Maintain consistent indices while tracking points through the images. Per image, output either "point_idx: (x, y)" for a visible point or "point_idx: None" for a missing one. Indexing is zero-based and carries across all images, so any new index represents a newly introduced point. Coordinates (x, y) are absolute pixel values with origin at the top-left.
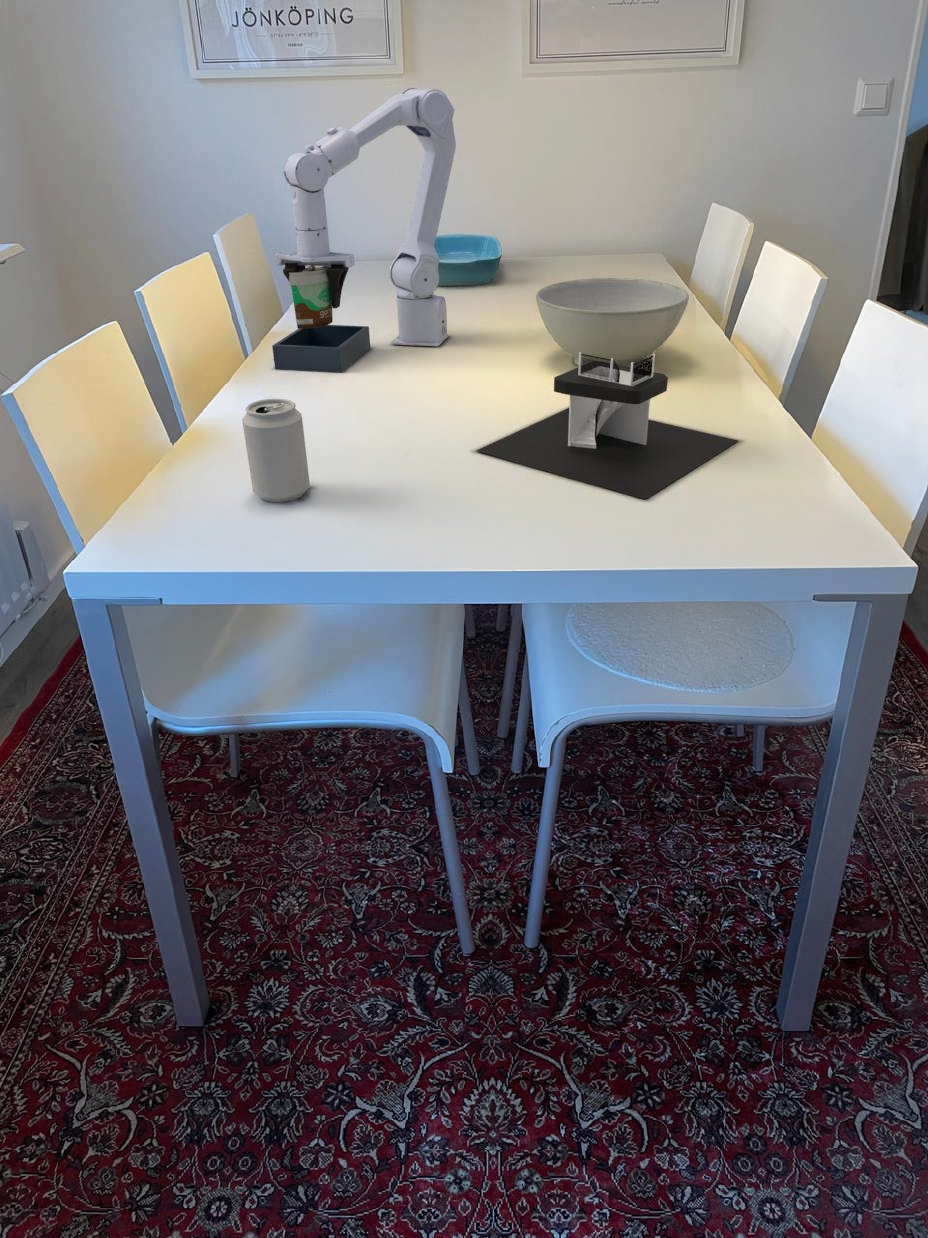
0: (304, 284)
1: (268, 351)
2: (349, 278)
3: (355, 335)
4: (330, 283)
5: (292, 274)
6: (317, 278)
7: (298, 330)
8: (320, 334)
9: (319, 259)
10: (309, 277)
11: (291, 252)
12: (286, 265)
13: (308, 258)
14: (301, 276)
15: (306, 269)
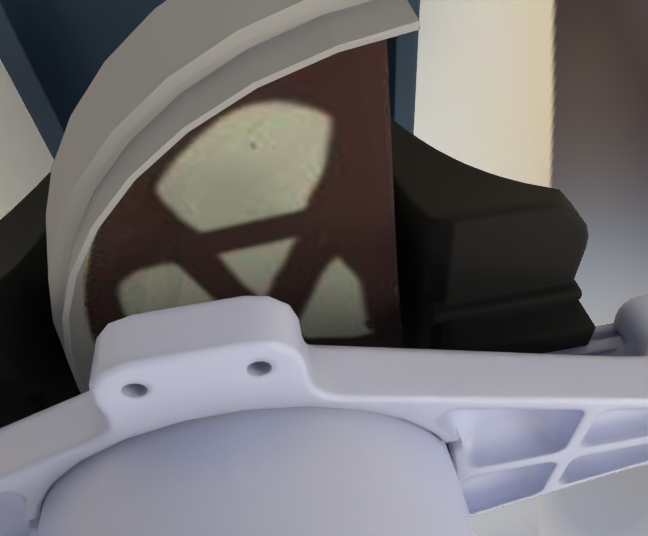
0: (166, 1)
1: (533, 18)
2: (488, 525)
3: (30, 99)
4: (28, 238)
5: (354, 17)
6: (59, 174)
7: (398, 93)
8: None
9: (45, 428)
10: (115, 111)
11: (568, 482)
12: (567, 312)
13: (134, 367)
14: (206, 53)
15: (353, 344)
